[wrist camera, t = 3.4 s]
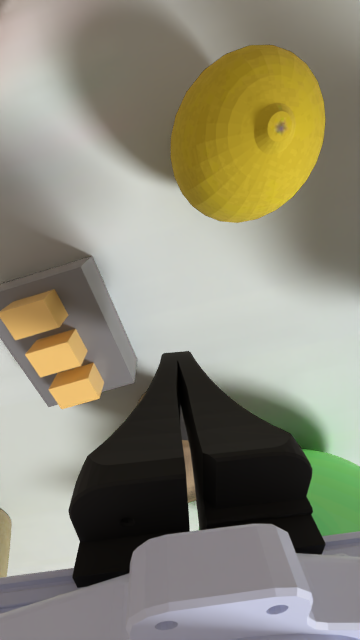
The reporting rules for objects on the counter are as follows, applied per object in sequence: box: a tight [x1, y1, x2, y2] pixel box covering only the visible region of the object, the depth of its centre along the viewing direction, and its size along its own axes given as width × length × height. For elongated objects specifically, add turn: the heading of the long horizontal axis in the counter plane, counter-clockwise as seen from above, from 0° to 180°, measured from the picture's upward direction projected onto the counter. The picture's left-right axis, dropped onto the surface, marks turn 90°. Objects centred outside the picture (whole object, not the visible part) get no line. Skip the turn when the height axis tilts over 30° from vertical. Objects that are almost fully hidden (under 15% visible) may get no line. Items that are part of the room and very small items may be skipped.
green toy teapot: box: [199, 449, 360, 536], centre depth 20 cm, size 18×17×15 cm
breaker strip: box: [0, 256, 137, 409], centre depth 16 cm, size 8×6×4 cm
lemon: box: [171, 45, 325, 223], centre depth 10 cm, size 6×6×8 cm
